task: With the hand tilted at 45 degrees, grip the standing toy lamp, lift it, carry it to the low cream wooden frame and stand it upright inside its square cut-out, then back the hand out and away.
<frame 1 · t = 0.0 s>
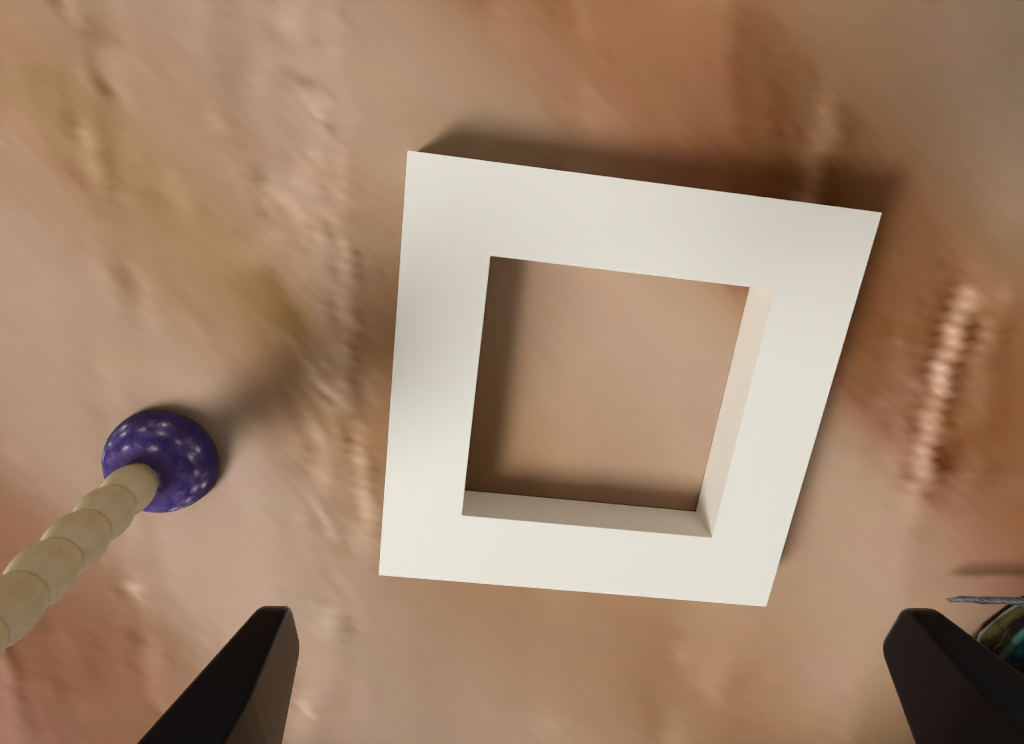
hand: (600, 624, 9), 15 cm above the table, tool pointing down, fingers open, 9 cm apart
toy lamp: (168, 464, 25), on the table
cutout frame: (600, 390, 24), on the table
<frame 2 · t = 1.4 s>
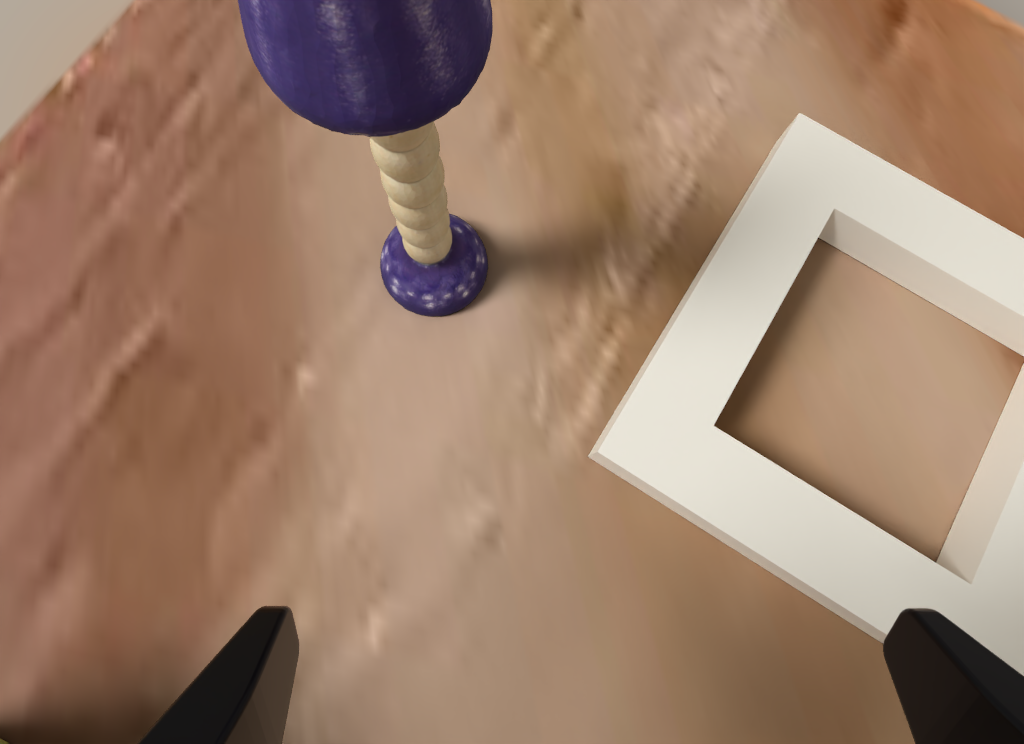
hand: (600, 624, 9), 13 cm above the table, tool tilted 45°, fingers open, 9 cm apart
toy lamp: (430, 275, 24), on the table
cutout frame: (864, 394, 24), on the table
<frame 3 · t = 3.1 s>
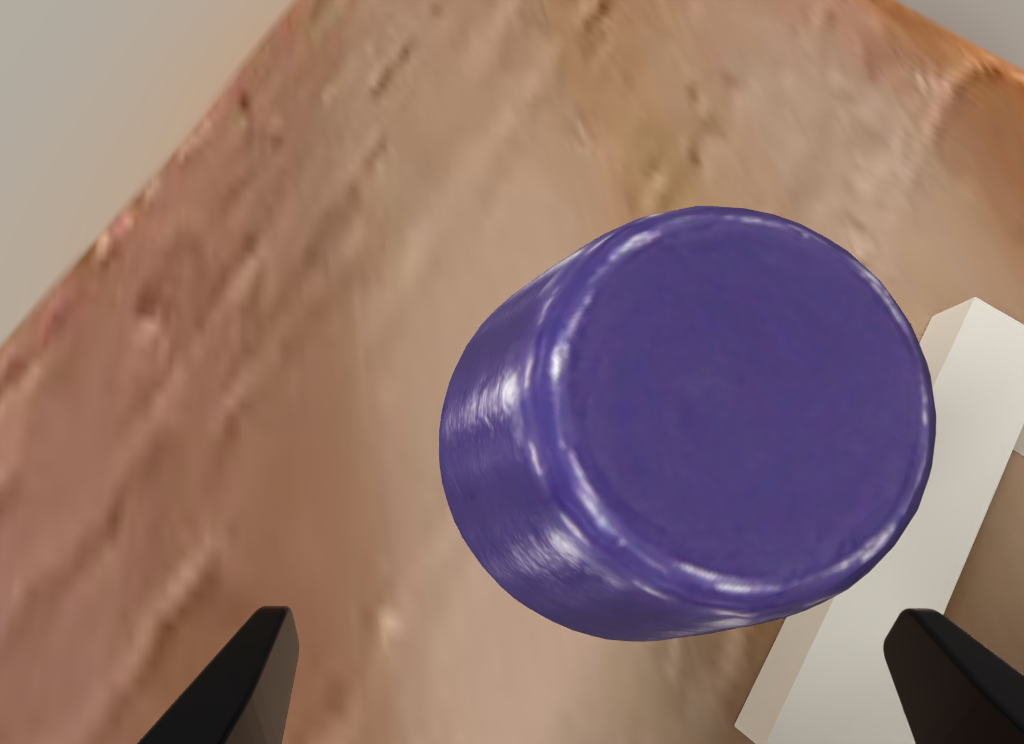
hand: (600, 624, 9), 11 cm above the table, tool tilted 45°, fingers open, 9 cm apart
toy lamp: (535, 487, 20), on the table
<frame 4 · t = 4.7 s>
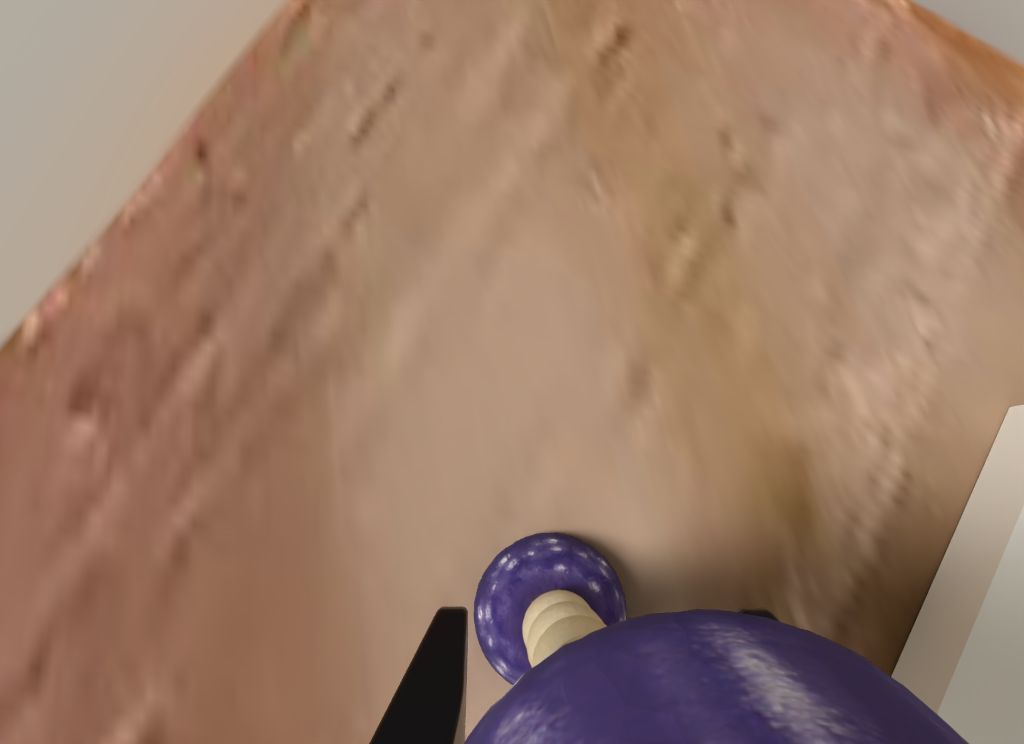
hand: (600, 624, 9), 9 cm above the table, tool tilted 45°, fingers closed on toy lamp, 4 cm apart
toy lamp: (542, 621, 17), on the table, touching gripper
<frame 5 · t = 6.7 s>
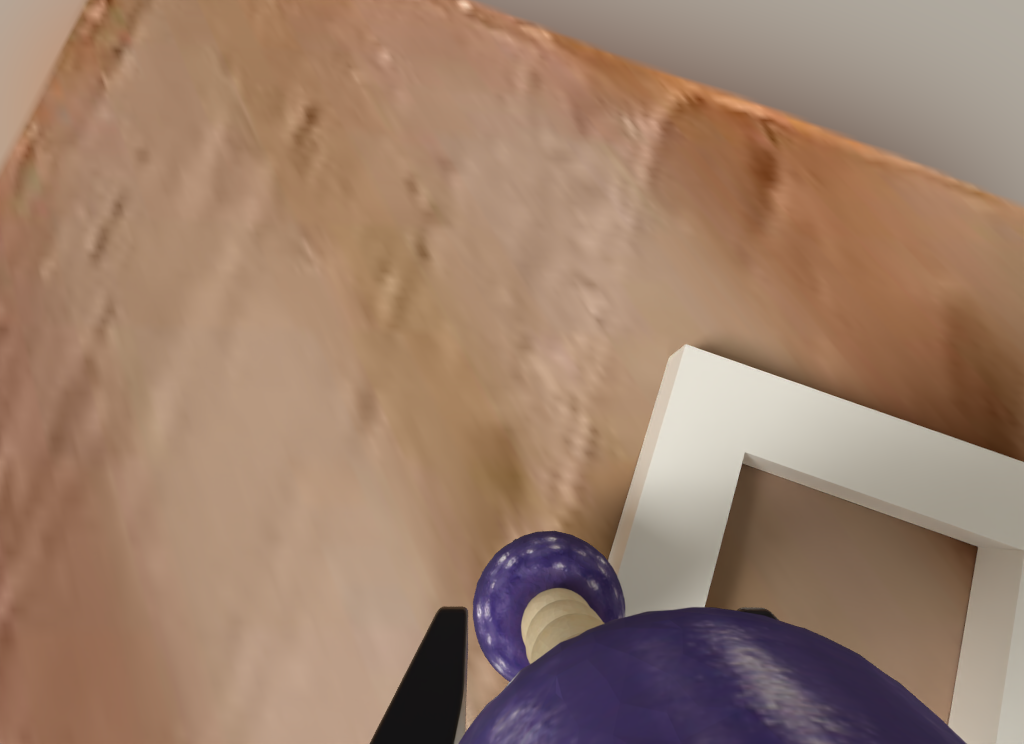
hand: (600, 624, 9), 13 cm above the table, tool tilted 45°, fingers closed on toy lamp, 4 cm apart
toy lamp: (541, 619, 17), point 4 cm above the table, touching gripper
cutout frame: (820, 636, 22), on the table
when the fingers open (10 cm above the table, at t = 8.8 s): toy lamp stays where it is, resting in cutout frame.
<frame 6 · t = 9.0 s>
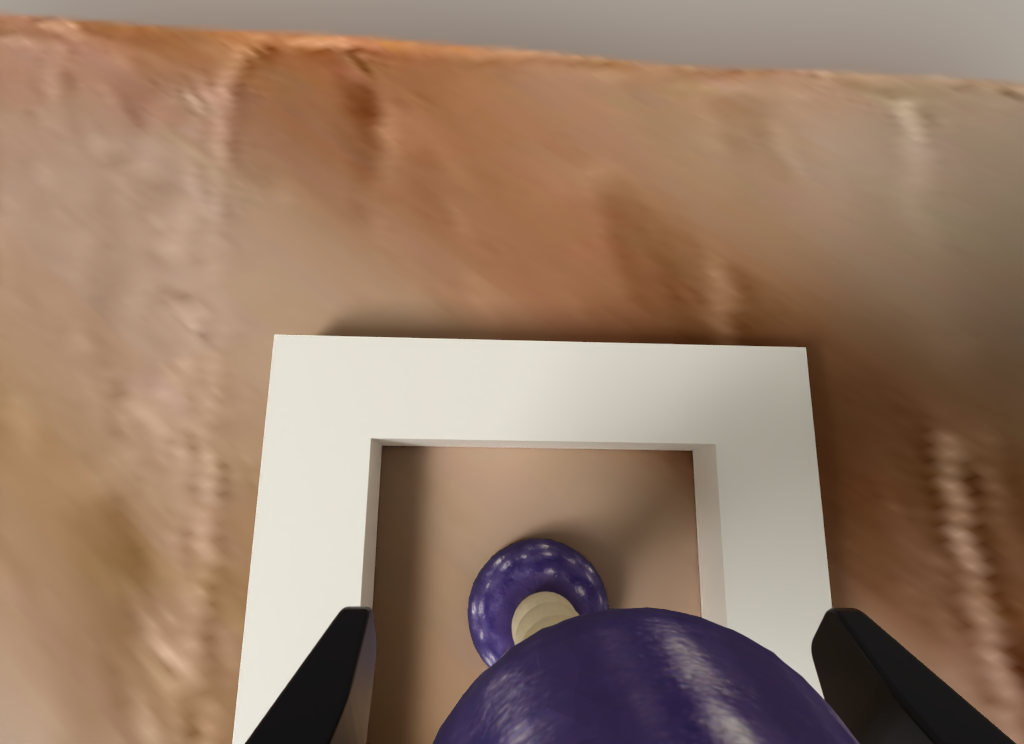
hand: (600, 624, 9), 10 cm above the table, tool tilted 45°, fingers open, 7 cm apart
toy lamp: (531, 619, 19), resting in cutout frame
cutout frame: (538, 613, 18), on the table
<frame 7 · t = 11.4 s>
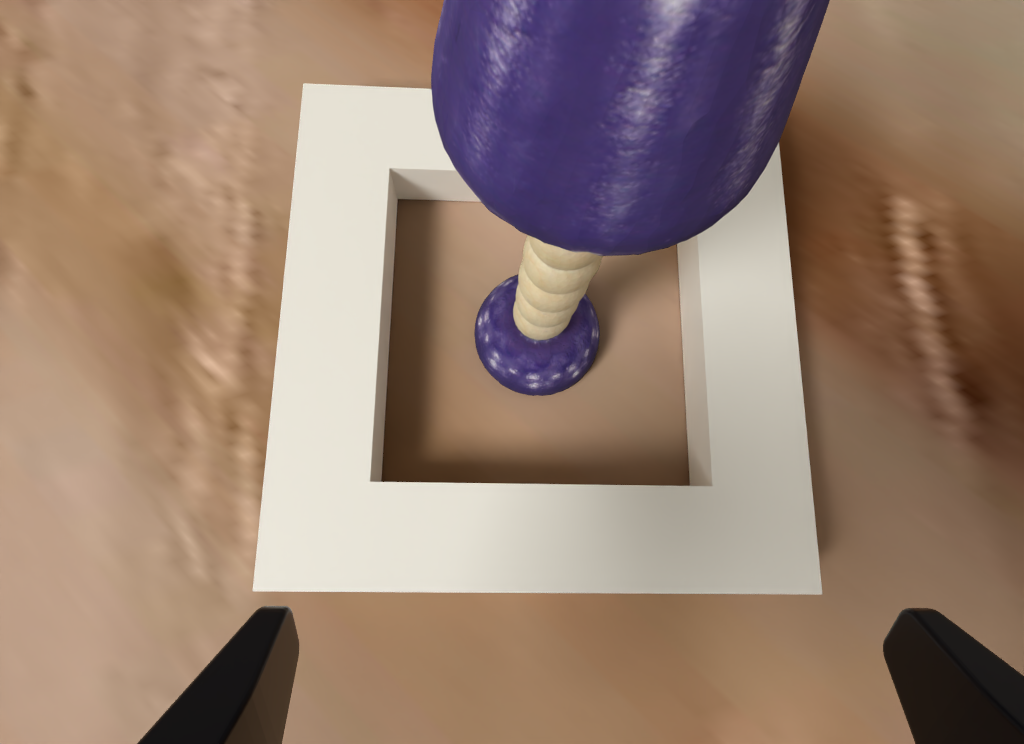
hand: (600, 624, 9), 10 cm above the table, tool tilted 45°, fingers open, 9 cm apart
toy lamp: (530, 344, 21), resting in cutout frame
cutout frame: (537, 337, 21), on the table
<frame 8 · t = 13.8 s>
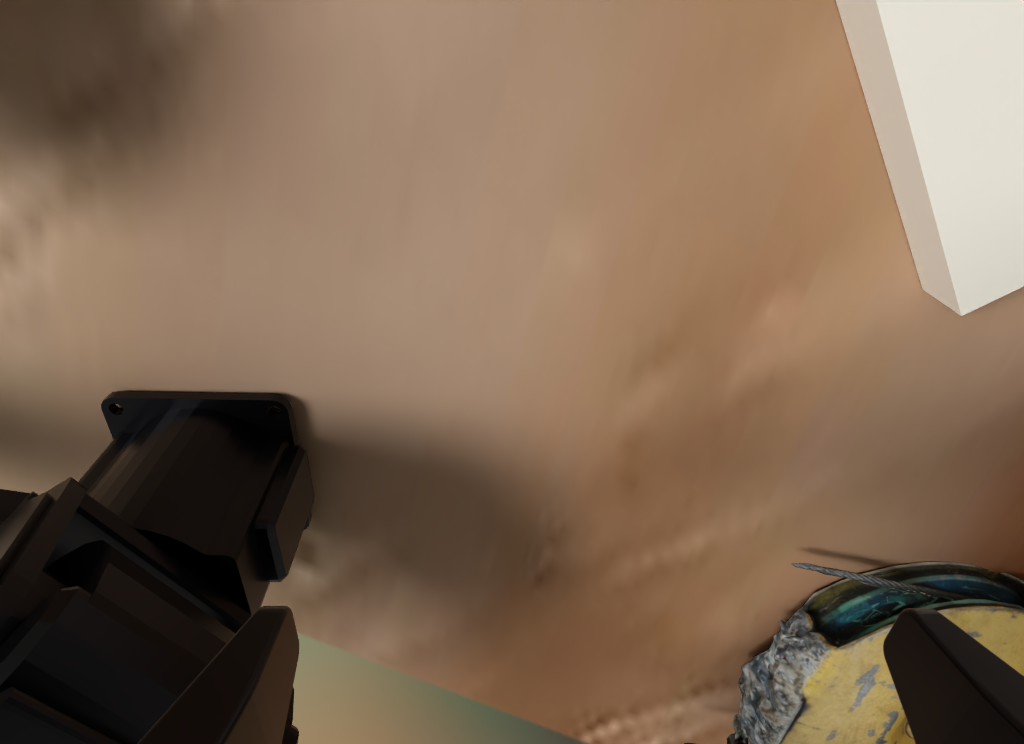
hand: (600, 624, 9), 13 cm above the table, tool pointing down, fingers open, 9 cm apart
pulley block: (965, 657, 33), on the table
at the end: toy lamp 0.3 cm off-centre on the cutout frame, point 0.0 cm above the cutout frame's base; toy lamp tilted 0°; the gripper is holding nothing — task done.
